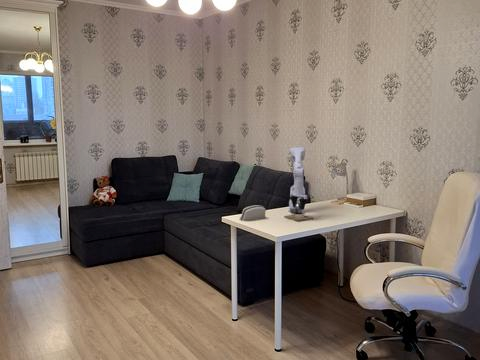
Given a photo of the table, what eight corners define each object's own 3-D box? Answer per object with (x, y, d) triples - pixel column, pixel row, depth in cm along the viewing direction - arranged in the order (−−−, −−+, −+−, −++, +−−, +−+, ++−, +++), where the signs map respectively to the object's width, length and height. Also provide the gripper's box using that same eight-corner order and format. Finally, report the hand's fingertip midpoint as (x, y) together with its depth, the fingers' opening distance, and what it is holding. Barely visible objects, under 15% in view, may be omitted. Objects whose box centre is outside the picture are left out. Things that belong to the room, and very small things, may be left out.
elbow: (298, 215, 273) (298, 202, 272) (303, 217, 270) (303, 203, 268) (289, 217, 269) (289, 204, 268) (293, 218, 266) (293, 205, 264)
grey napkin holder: (261, 216, 278) (263, 203, 274) (264, 220, 274) (267, 206, 270) (238, 219, 270) (241, 205, 266) (242, 223, 266) (245, 209, 262)
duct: (284, 217, 273) (284, 212, 273) (299, 215, 279) (299, 210, 279) (297, 221, 262) (297, 216, 261) (313, 219, 268) (313, 213, 267)
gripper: (286, 186, 272) (286, 207, 274) (301, 189, 259) (300, 211, 261) (295, 185, 275) (295, 206, 277) (310, 188, 263) (309, 209, 265)
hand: (298, 208), depth 270 cm, fingers open, 7 cm apart
